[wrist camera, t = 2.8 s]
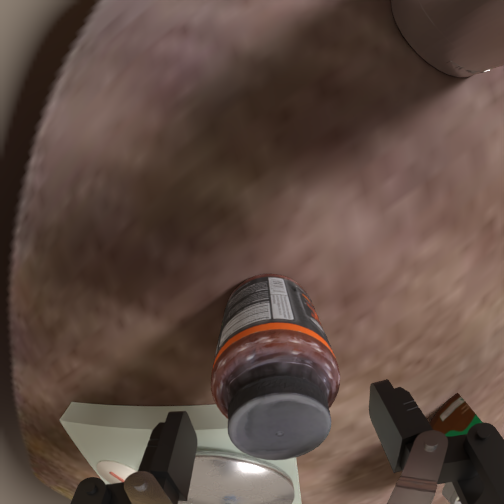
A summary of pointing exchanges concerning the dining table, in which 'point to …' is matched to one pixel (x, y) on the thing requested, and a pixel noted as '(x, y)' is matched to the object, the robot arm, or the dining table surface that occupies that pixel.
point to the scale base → (145, 436)
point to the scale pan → (237, 480)
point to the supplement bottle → (274, 370)
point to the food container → (454, 430)
